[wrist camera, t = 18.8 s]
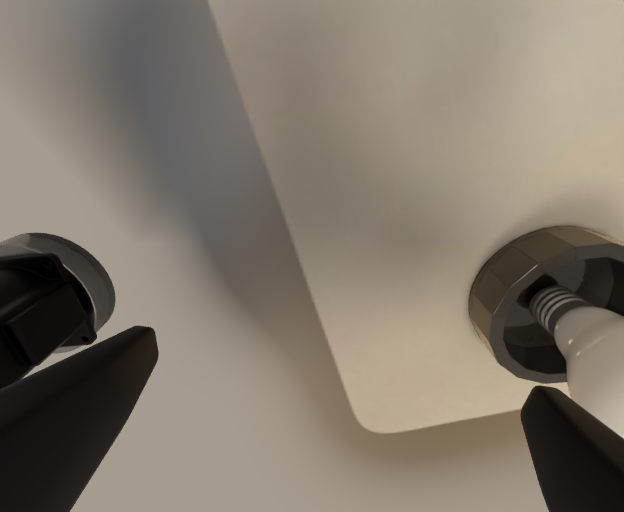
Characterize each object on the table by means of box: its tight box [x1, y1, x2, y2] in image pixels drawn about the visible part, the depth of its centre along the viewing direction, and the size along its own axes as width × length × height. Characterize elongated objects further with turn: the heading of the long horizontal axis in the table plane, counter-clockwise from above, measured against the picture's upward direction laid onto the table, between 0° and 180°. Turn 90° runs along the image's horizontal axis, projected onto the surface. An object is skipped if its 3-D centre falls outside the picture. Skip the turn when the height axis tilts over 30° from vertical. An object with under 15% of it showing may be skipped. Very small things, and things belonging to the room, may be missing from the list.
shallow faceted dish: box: [469, 226, 624, 384], centre depth 20 cm, size 10×10×3 cm
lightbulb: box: [529, 285, 624, 439], centre depth 16 cm, size 6×6×11 cm
